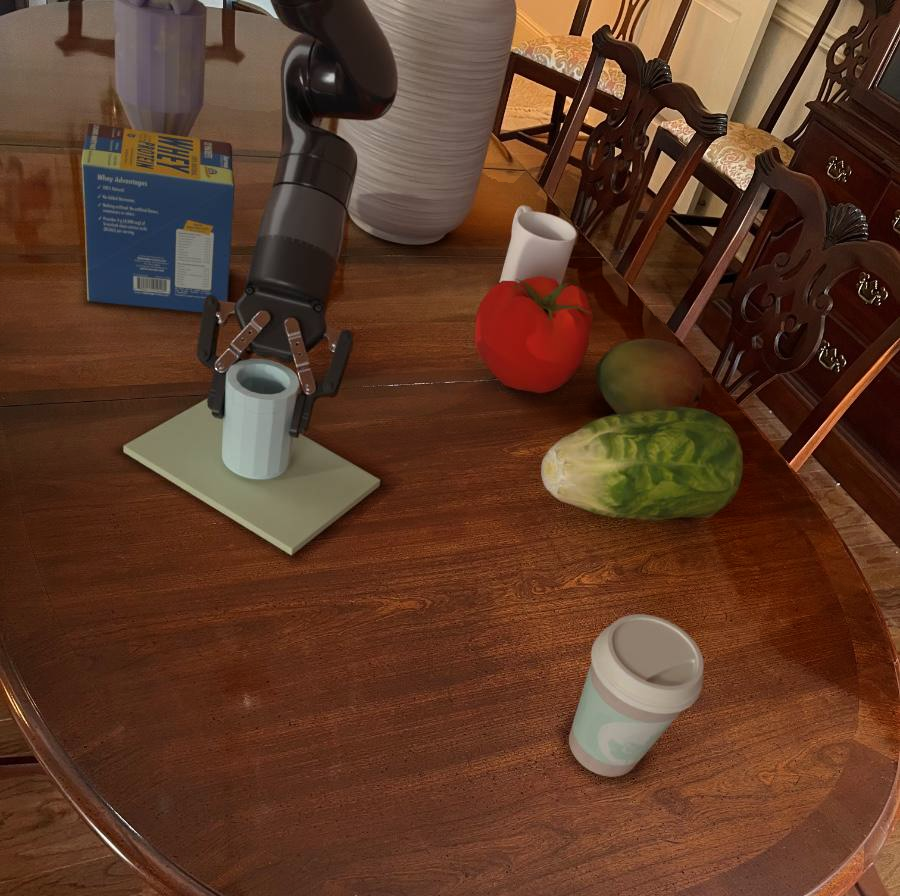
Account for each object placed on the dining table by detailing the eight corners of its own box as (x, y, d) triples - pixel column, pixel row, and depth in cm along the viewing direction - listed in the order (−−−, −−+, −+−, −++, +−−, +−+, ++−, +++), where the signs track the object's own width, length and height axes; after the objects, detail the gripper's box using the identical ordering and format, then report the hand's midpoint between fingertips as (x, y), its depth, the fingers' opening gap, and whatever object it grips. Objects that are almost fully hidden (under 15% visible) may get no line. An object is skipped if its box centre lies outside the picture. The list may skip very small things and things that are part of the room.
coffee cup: (558, 786, 76) (608, 689, 68) (547, 700, 82) (592, 601, 74) (662, 796, 78) (723, 703, 70) (643, 711, 84) (698, 615, 76)
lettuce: (511, 476, 103) (541, 386, 96) (677, 469, 111) (717, 385, 103) (553, 552, 96) (589, 460, 88) (727, 539, 104) (774, 453, 96)
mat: (123, 452, 93) (123, 445, 92) (222, 395, 102) (223, 389, 102) (291, 555, 88) (292, 549, 87) (379, 486, 98) (380, 479, 97)
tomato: (494, 412, 111) (521, 320, 103) (448, 343, 120) (470, 252, 111) (594, 407, 116) (627, 319, 108) (543, 341, 125) (570, 254, 117)
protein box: (92, 256, 116) (86, 121, 105) (226, 271, 120) (233, 142, 109) (85, 302, 109) (79, 162, 98) (228, 316, 113) (236, 183, 102)
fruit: (664, 463, 111) (698, 389, 104) (566, 415, 114) (593, 339, 107) (695, 420, 119) (729, 348, 112) (603, 376, 122) (631, 303, 115)
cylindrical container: (207, 457, 93) (211, 376, 87) (251, 429, 97) (258, 350, 91) (260, 488, 91) (268, 409, 85) (303, 459, 96) (313, 381, 89)
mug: (562, 317, 130) (586, 243, 123) (508, 316, 127) (530, 239, 120) (529, 271, 138) (550, 198, 131) (477, 268, 135) (496, 193, 128)
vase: (360, 175, 148) (400, -87, 125) (484, 221, 146) (548, -36, 123) (302, 220, 134) (335, -66, 111) (439, 272, 132) (501, -8, 109)
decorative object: (155, 226, 124) (156, -47, 103) (101, 192, 127) (91, -79, 107) (216, 209, 131) (229, -51, 110) (163, 176, 134) (165, -81, 113)
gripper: (213, 213, 86) (168, 399, 86) (374, 255, 87) (330, 439, 87) (226, 244, 93) (185, 415, 93) (375, 282, 94) (334, 452, 94)
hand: (255, 426), depth 90 cm, fingers closed on cylindrical container, 6 cm apart
